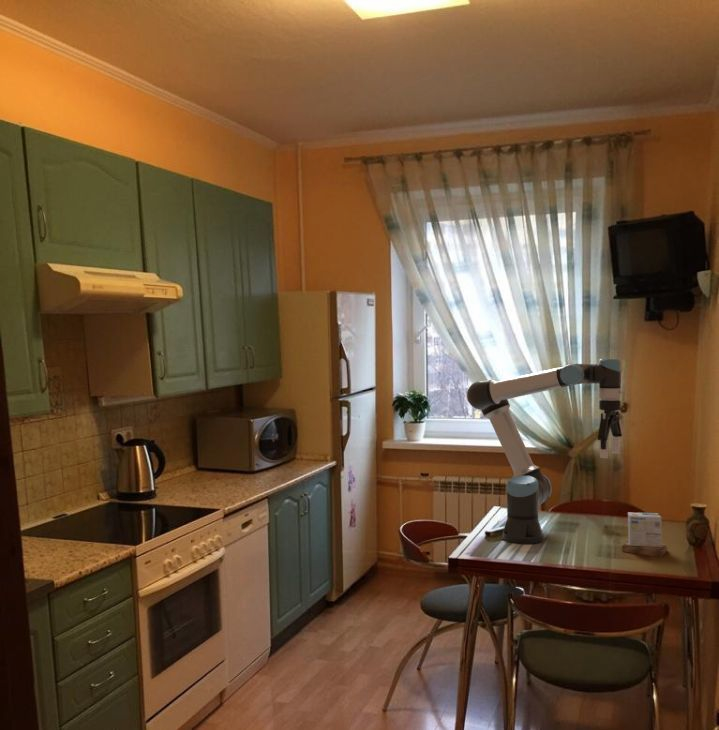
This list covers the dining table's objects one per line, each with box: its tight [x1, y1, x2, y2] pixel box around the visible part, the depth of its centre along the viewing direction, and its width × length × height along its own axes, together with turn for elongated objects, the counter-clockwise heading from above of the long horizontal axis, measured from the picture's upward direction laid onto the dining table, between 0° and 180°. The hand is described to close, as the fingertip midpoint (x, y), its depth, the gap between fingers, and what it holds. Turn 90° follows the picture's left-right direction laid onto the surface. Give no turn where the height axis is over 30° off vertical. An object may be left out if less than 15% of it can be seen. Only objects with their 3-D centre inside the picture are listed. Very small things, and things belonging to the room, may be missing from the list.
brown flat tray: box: [621, 540, 668, 558], centre depth 237 cm, size 13×9×2 cm
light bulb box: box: [627, 511, 663, 547], centre depth 236 cm, size 11×7×11 cm, turn 76°
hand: (609, 455), depth 250 cm, fingers open, 13 cm apart
